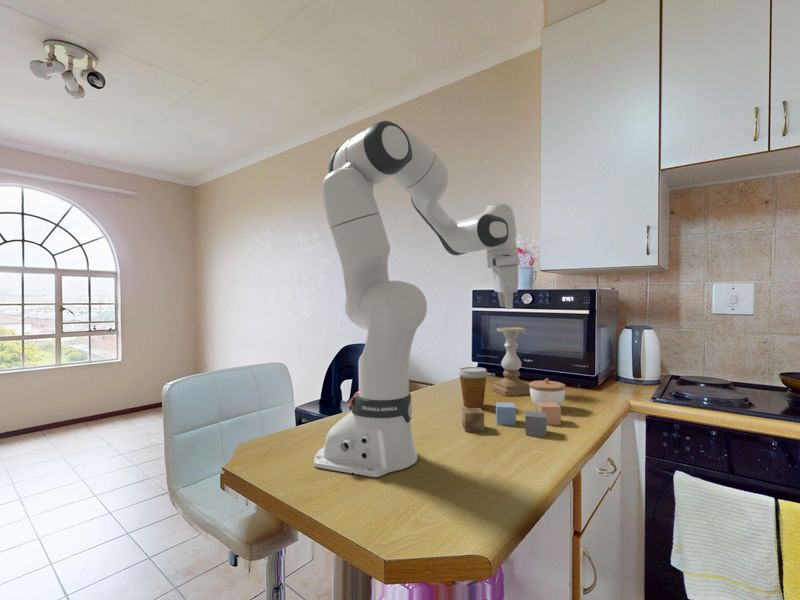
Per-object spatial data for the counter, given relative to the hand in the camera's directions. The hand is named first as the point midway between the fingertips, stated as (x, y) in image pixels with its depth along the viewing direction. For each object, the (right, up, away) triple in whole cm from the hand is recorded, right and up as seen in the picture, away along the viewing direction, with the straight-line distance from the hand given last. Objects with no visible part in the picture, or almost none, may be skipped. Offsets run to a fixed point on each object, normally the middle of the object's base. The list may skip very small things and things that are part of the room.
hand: (506, 307), depth 114 cm
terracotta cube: (+11, -32, -5) cm, 34 cm away
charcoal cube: (+4, -32, -14) cm, 35 cm away
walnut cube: (-12, -33, -10) cm, 36 cm away
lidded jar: (+15, -32, +8) cm, 37 cm away
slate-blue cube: (-1, -32, -5) cm, 33 cm away
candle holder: (+11, -32, +31) cm, 46 cm away
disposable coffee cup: (-7, -33, +13) cm, 36 cm away
